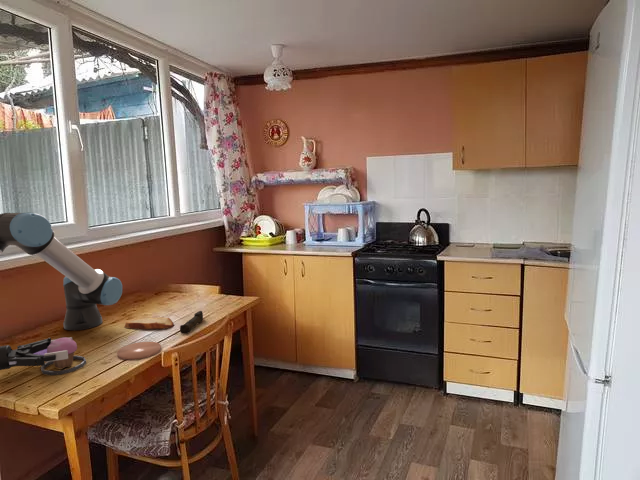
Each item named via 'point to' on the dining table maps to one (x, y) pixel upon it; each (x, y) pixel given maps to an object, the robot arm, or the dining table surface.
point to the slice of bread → (150, 323)
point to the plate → (138, 350)
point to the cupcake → (63, 345)
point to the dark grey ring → (64, 369)
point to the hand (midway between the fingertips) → (70, 347)
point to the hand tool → (192, 323)
